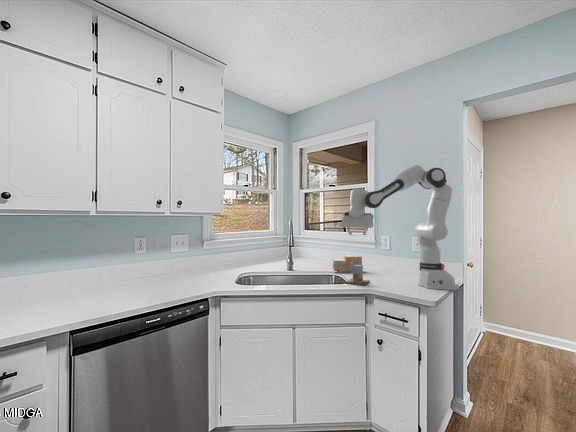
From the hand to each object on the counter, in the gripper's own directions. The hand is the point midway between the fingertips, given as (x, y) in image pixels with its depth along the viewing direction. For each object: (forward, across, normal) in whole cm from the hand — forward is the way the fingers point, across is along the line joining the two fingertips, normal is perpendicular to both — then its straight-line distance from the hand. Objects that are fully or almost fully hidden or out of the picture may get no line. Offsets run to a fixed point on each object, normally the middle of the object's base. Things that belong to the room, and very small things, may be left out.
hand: (357, 234), depth 191 cm
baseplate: (+31, 0, 0) cm, 31 cm away
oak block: (+30, 0, 0) cm, 30 cm away
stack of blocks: (+31, +20, -35) cm, 51 cm away
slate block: (+25, 0, 0) cm, 25 cm away
